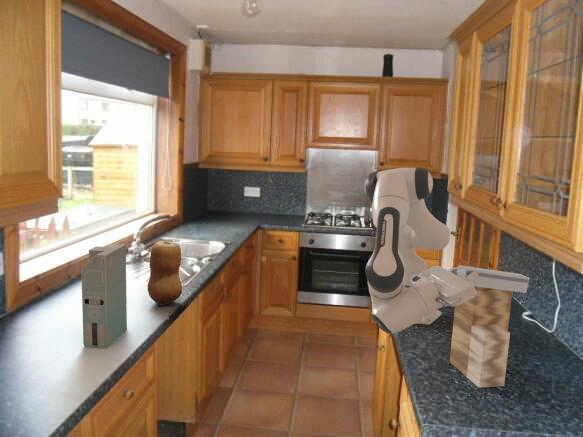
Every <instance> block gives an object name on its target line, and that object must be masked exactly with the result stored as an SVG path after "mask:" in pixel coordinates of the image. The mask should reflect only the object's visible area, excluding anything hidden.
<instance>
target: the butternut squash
mask: <svg viewBox="0 0 583 437" xmlns="http://www.w3.org/2000/svg"><path fill="white" fill-rule="evenodd" d="M181 262H182V249H181V247H180V244H178V243H176V242H174V241H166V240H164V241H163V240H161V241H160V240H159V241H157V242H155V243H154V244H152V247H151V250H150V256H149V264H148V265H149V268H150V269H149V270H150V274H149V275H150V276H149V279H148V282H147V292H148V296H149V297H150V298H151V300H152V301H153V302H154V303H156V304H157V305H158V306H165V305H168V304H172V303H173V302H175V301H176V300H178V299H179V298H180V297H181V295H182V292H183V286H182V285H183V284H182V281H181V277H180V273H179V272H180V267H181Z"/></svg>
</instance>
